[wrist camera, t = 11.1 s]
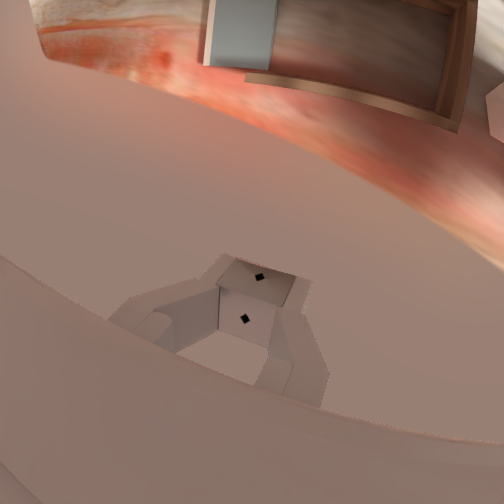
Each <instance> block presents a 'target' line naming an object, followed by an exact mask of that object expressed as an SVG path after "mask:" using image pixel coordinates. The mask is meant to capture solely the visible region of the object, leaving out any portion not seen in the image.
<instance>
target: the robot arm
mask: <svg viewBox="0 0 504 504" xmlns="http://www.w3.org/2000/svg"><path fill="white" fill-rule="evenodd" d="M312 283H313V280H311V279H307V278H304V277H300V276H295V275H291V274H288V273H284V272H281V271H278V270H275V269H271V268H268V267H266V266H263V265H260V264H257V263H254V262H251V261H248V260H245V259H242V258H238V257H236V256H233V255H229V254H227V253H223V254H221V255H220V256H219V257H218V258H217V259H216V260H215V262H214V263H213V264H212V265H211V266H210V267H209V269H208V270H207V271H206V272H205V273H204V274H203V275H202V276H201V278H200V279H197V278H193V279H189V280H187V281H183V282H180V283H176V284H173V285H170V286H166V287H163V288H160V289H157V290H153V291H150V292H146V293H143V294H140V295H136V296H133V297H130V298H129V299H128V300H127V301H126V302H125V303H124V304H123V305H121V306H120V307H119V308H118V310H116V311H115V312H114V314H112V315H111V316H110V317H109V318H108V319H104V318H103V317H101V316H99V315H97V314H96V313H94V312H92V311H90V310H88V309H87V308H85V307H83V306H81V305H80V304H78V303H76V302H75V301H73V300H71V299H69V298H68V297H66V296H64V295H63V294H61V293H60V292H58V291H56V290H55V289H53V288H51V287H50V286H48V285H47V284H45V283H44V282H42V281H40V280H39V279H37V278H36V277H34V276H33V275H31V274H30V273H28V272H27V271H25V270H24V269H22V268H21V267H19V266H18V265H16V264H15V263H13V262H12V261H11V260H9V259H8V258H6V257H5V256H3V255H2V254H1V253H0V504H504V443H496V442H485V441H476V440H468V439H460V438H453V437H446V436H440V435H434V434H428V433H422V432H417V431H412V430H406V429H402V428H397V427H392V426H387V425H383V424H379V423H375V422H370V421H366V420H362V419H358V418H354V417H350V416H347V415H343V414H340V413H336V412H332V411H329V410H325V409H322V408H320V406H321V403H322V399H323V396H324V392H325V389H326V386H327V382H328V378H329V375H330V373H329V371H328V368H327V366H326V363H325V361H324V359H323V356H322V354H321V351H320V349H319V347H318V344H317V342H316V339H315V337H314V335H313V332H312V330H311V328H310V325H309V323H308V321H307V318H306V316H305V315H304V311H305V308H306V305H307V301H308V298H309V294H310V291H311V287H312ZM217 330H218V331H221V332H224V333H227V334H230V335H233V336H236V337H239V338H242V339H245V340H247V341H249V342H252V343H254V344H257V345H260V346H262V347H265V348H267V351H268V356H269V358H268V359H267V360H266V362H265V364H264V366H263V369H262V370H261V372H260V374H259V376H258V379H257V380H256V383H255V384H254V386H253V385H250V384H247V383H245V382H242V381H239V380H236V379H234V378H232V377H229V376H227V375H224V374H222V373H219V372H217V371H214V370H212V369H209V368H207V367H205V366H202V365H200V364H198V363H195V362H193V361H191V360H188V359H186V358H184V357H181V356H179V355H177V354H176V353H177V352H179V351H181V350H183V349H185V348H187V347H189V346H191V345H193V344H194V343H196V342H198V341H200V340H202V339H204V338H206V337H208V336H210V335H212V334H214V333H215V332H217Z"/></svg>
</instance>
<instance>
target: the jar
mask: <svg viewBox="0 0 504 504" xmlns="http://www.w3.org/2000/svg"><path fill="white" fill-rule="evenodd" d="M485 99H486V106H487V113H488V122H489V131H490V135H491V136H492V137H494V138H496V139H497V140H499V141H500V142H502V143H503V144H504V82H503V83H501V84H500V85H499V86H497V87H496V88H495V89H493V90H492V91H491V92H489V93H488V94H487V95H486V96H485Z"/></svg>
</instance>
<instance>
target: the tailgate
mask: <svg viewBox="0 0 504 504" xmlns="http://www.w3.org/2000/svg"><path fill="white" fill-rule="evenodd" d="M277 7H278V0H210V4H209V12H208V21H207V31H206V41H205V51H204V62H203V65H205V66H224V67H238V68H250V69H259V70H269V71H270V65H271V57H272V48H273V40H274V32H275V24H276V16H277Z"/></svg>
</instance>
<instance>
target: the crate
mask: <svg viewBox="0 0 504 504" xmlns="http://www.w3.org/2000/svg"><path fill="white" fill-rule="evenodd" d="M399 1H403V2H406V3H410V4H414V5H417V6H420V7H423V8H427V9H430V10H433V11H436V12H439V13H442V14H444V15H447V16H450V18H449V28H448V37H447V45H446V52H445V59H444V65H443V71H442V77H441V82H440V88H439V93H438V98H437V103H436V108H435V112H434V111H431V110H428V109H425V108H422V107H419V106H416V105H413V104H410V103H407V102H404V101H400V100H397V99H394V98H390V97H387V96H383V95H379V94H376V93H372V92H368V91H364V90H360V89H356V88H352V87H347V86H343V85H338V84H333V83H329V82H323V81H318V80H313V79H307V78H301V77H295V76H288V75H282V74H274V73H253V72H246V75H245V82H247V83H256V84H264V85H271V86H278V87H285V88H291V89H297V90H303V91H308V92H313V93H318V94H323V95H328V96H333V97H337V98H342V99H346V100H351V101H355V102H359V103H363V104H367V105H370V106H374V107H378V108H381V109H385V110H388V111H392V112H395V113H399V114H402V115H405V116H408V117H411V118H414V119H418V120H421V121H424V122H426V123H429V124H432V125H435V126H438V127H441V128H443V129H446V130H449V131H451V132H454V133H456V134H457V133H458V129H459V125H460V121H461V117H462V112H463V108H464V103H465V98H466V93H467V88H468V82H469V77H470V71H471V64H472V57H473V50H474V42H475V33H476V22H477V9H478V0H399Z"/></svg>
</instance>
